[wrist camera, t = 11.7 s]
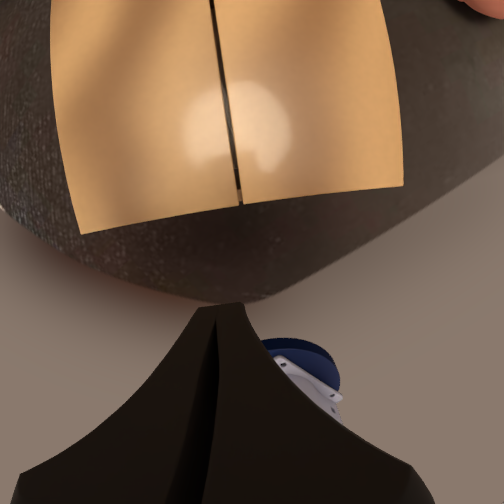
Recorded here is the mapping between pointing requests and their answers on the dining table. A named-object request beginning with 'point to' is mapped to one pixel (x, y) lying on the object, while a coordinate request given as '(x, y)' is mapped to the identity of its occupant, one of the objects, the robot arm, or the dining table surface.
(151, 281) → the dining table surface
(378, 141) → the flap
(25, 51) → the dining table surface
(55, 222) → the dining table surface
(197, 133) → the wooden box
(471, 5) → the teapot
